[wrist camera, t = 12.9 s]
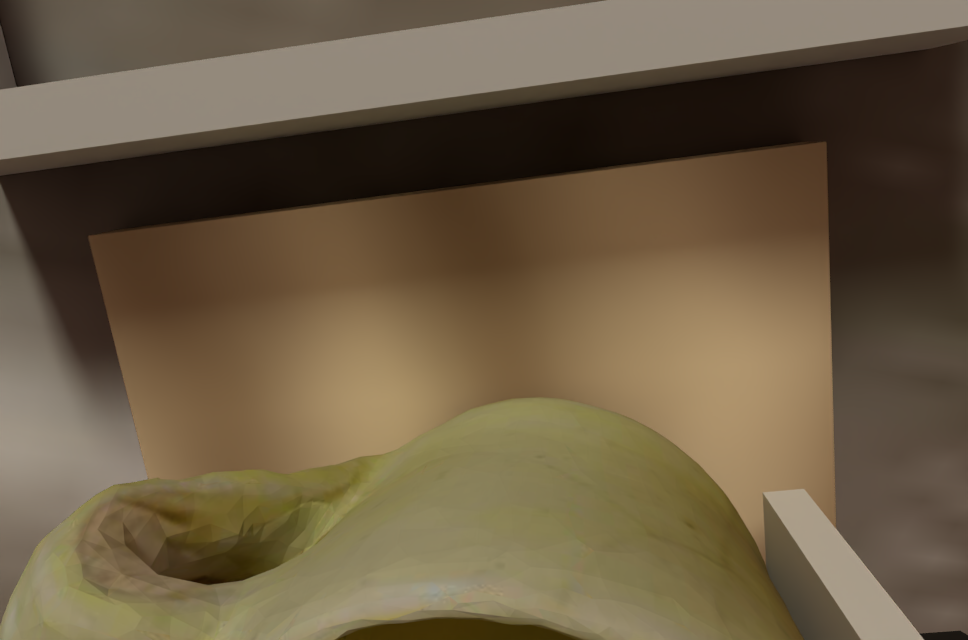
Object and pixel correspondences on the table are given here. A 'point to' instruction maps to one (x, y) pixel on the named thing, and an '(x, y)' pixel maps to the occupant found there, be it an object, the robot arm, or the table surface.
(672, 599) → the mug
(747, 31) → the tub
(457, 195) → the board
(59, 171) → the table surface
